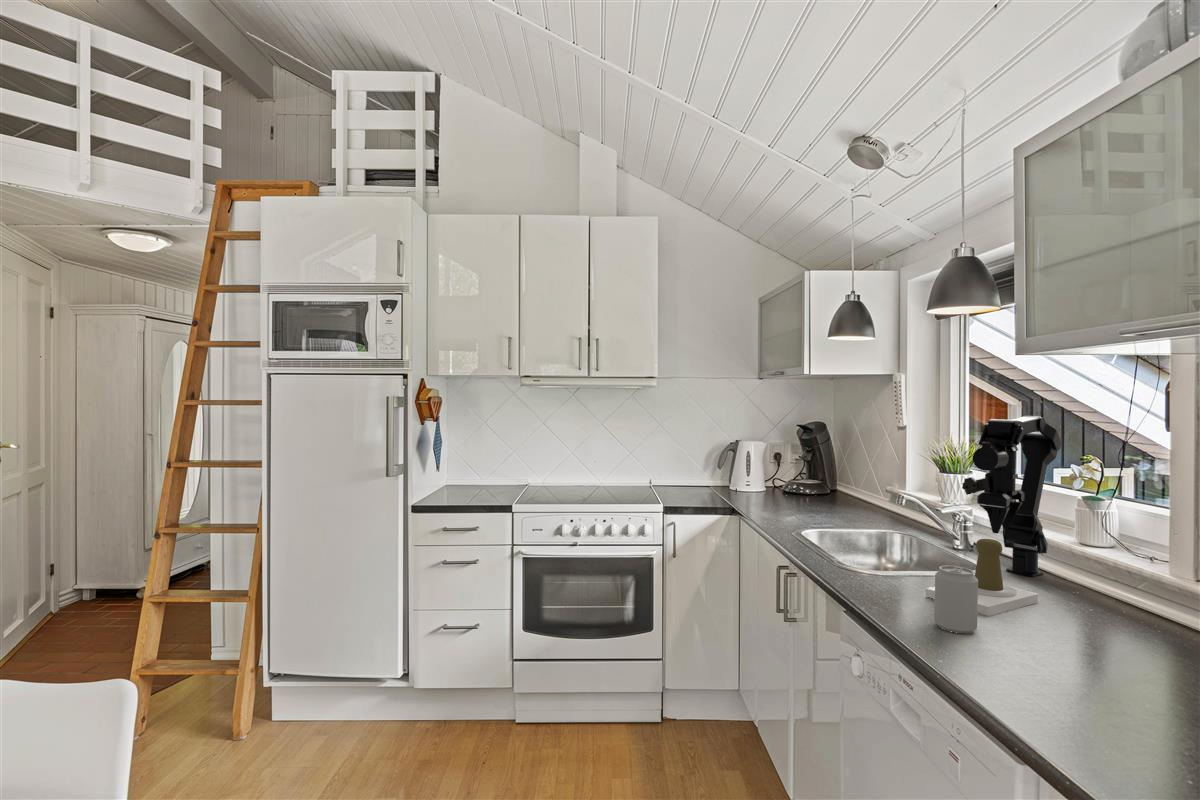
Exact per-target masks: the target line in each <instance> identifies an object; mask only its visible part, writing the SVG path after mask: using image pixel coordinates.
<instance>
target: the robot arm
mask: <svg viewBox="0 0 1200 800" xmlns="http://www.w3.org/2000/svg"><path fill="white" fill-rule="evenodd" d="M978 445H979V446H981V447H979V448H977V449H976V450H975V451H974V453H973V454H972V462H973V464H974V465H975V467H976V468H978V469H979V470H981V471H984V472H985V471H988V472H986V473H985V474H984V477H983V478H980V479H975V478H974V477H973V476H970V477H967V478H964V481H963V482H962V483H961V484H962V487H961V489H962V490H964V492H965V494H966V495H972V494H976V493H978V492H981V493H979V494H978V495H977V498H976V499H977V502H976V503H977V504H978V505H979V507H980V508H982V509H983V510H984V511H986V514H987V517H988V519H989V524H990V528H991V531H992V534H999V532H1000V530H1001V528H1002V538H1003V544H1004V547H1003V548H1008V549H1009V548H1010V549H1012V556H1011V558H1012V562H1011V564H1012V565H1011V567H1007V568H1006V569H1005V571H1007V572H1011V573H1015V574H1021V575H1024V576H1027V577H1036V576H1040V575H1044V574H1045V572H1044V571H1041V570H1039V554H1047V553H1048V548H1049V547H1048V546H1049V544H1048V541H1047V538H1046V536H1045V534H1044V532H1043V528H1044V527H1043V525H1042V523H1041V521H1040V518H1039V517H1038V513H1039V509H1040V505H1041V498H1042V494H1043V493H1042V492H1043V488H1044V483H1045V478H1046V474H1047V473H1046V472H1047V467H1048V466H1049V465H1050V464H1051V463H1052V462H1053V461H1055V459H1056V458H1057V455H1058V452H1059V451H1060V450H1061V447H1062V440H1061V437H1060V435H1059V432H1058V430H1057V429H1056V428H1054V427H1053V426H1051V425H1050V424H1049V423H1047V422H1046V420H1045V418H1044V417H1043V416H1042V417H1041V415H1039V416H1038V415H1037V416H1036V415H1024V416H1020V417H1019V418H1014V419H1003V418H1002V419H998V418H996V419H995V418H990V419H988V420H987V423H985V425H984V428H983V431H982V433H981V436H980V438H979V441H978ZM1018 445H1020V446H1021V452H1022V453H1023V455H1024V458H1025V459H1026V461H1025V462H1026V463H1025V467H1024V473H1023V476H1022V483H1021V488H1020V489H1018V488H1016V479H1018V478H1019V474H1018V473H1017V452H1018V450H1019V448H1018V447H1017V446H1018ZM1043 573H1044V574H1043Z"/></svg>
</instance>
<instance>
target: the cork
mask: <svg viewBox="0 0 1200 800" xmlns="http://www.w3.org/2000/svg"><path fill="white" fill-rule="evenodd" d="M975 549H976V551H977V553H978V554H977V560H976V565H975V571H974V572H975V573H974V576H975V577H976V578H977V579H978V588H980V589H984V590H990V591H1002V590H1004V589H1003V585H1004V582H1003V576H1002V575H1003V574H1002V566H1001V560H1000V555H1001V554H1002V553H1003V546H1002V543H1001V542H1000V541H998V540H996V539H992V538H979V539H977V540H976V543H975Z"/></svg>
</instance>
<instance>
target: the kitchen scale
mask: <svg viewBox="0 0 1200 800" xmlns="http://www.w3.org/2000/svg"><path fill="white" fill-rule="evenodd" d="M1003 589H1004V590H1002V591H990V590H984V589H980V588H978V611H977V614H979V613H980V615H983V616H985V617H986V616H987V617H991V616H995V615H997V614H1002V613H1004V612H1005V613H1006V612H1009V611H1012V610H1017V609H1020V608H1023V607H1027V606H1032V605H1033V604H1034V605H1035V604H1038V603H1039V593H1036V592H1032V591H1029V590H1025V589H1022V588H1021V589H1020V588H1017V587H1013V586H1009V585H1007V584H1003ZM926 596H928V597H930V598H929V599H931V598H934V599H935V586H931V587H927V588H925V597H926ZM934 599H933V600H934Z"/></svg>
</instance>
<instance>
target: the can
mask: <svg viewBox="0 0 1200 800" xmlns="http://www.w3.org/2000/svg"><path fill="white" fill-rule="evenodd" d="M938 569H939V570H938V571H937V572H936V573H935V575H934V587H935V600H934V599H933V601H934V605H933V606H934V607H933V609H934V610H933V621H934V623H935V624H936V625H937V626H938V627H939V626H940V627H941V628H943V629H946V630H949V631H952V632H957V633H970V634H972V633H973V632H974V631H976V630H978V613H977V611H978V579H977V578H976V577H975V571H974V570H972V569H970V568H967V567H964V566H957V565H941V566H939V567H938ZM940 627H939V628H940ZM941 628H940V629H941ZM943 629H942V630H943ZM952 632H951V633H952ZM971 632H972V633H971ZM957 633H956V634H957Z"/></svg>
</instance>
